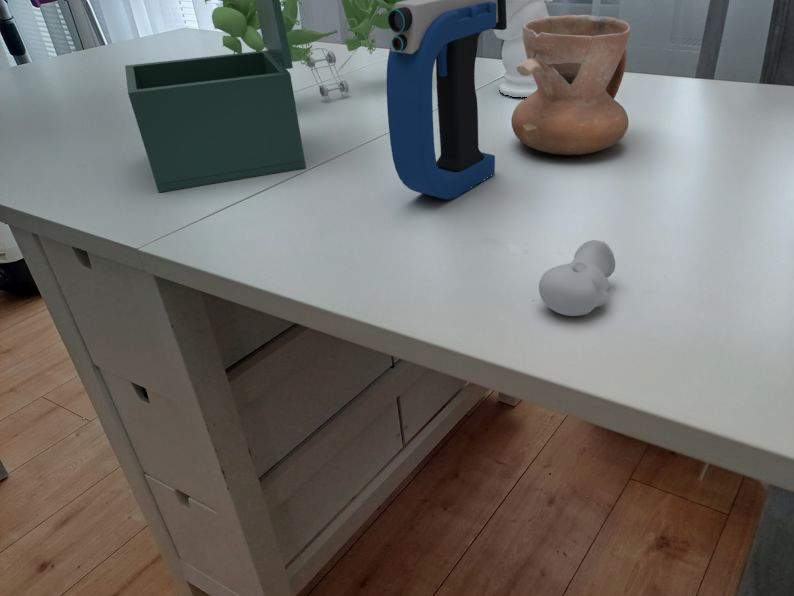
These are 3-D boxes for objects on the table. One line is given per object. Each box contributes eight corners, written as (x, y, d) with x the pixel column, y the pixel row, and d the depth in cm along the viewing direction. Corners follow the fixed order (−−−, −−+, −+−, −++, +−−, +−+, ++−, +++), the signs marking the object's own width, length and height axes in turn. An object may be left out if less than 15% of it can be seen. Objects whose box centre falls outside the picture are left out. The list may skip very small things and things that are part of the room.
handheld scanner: (509, 168, 78) (510, -21, 67) (428, 217, 68) (412, 3, 56) (477, 161, 80) (472, -22, 69) (394, 208, 70) (371, 0, 58)
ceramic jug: (560, 178, 76) (570, 43, 67) (480, 146, 85) (479, 24, 77) (660, 143, 85) (679, 21, 76) (578, 117, 94) (587, 6, 85)
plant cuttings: (217, 154, 104) (248, 87, 85) (169, 52, 103) (189, -40, 84) (398, 109, 122) (456, 45, 103) (359, 21, 121) (411, -61, 102)
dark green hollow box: (158, 192, 74) (127, 92, 68) (152, 156, 84) (124, 65, 78) (306, 168, 80) (290, 73, 73) (284, 136, 90) (268, 50, 83)
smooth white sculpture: (573, 341, 51) (522, 304, 53) (624, 297, 56) (576, 264, 58) (591, 302, 48) (537, 264, 50) (644, 259, 53) (593, 225, 55)
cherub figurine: (568, 88, 106) (579, -73, 93) (538, 109, 97) (545, -66, 84) (500, 81, 111) (501, -74, 98) (465, 100, 102) (462, -68, 89)
